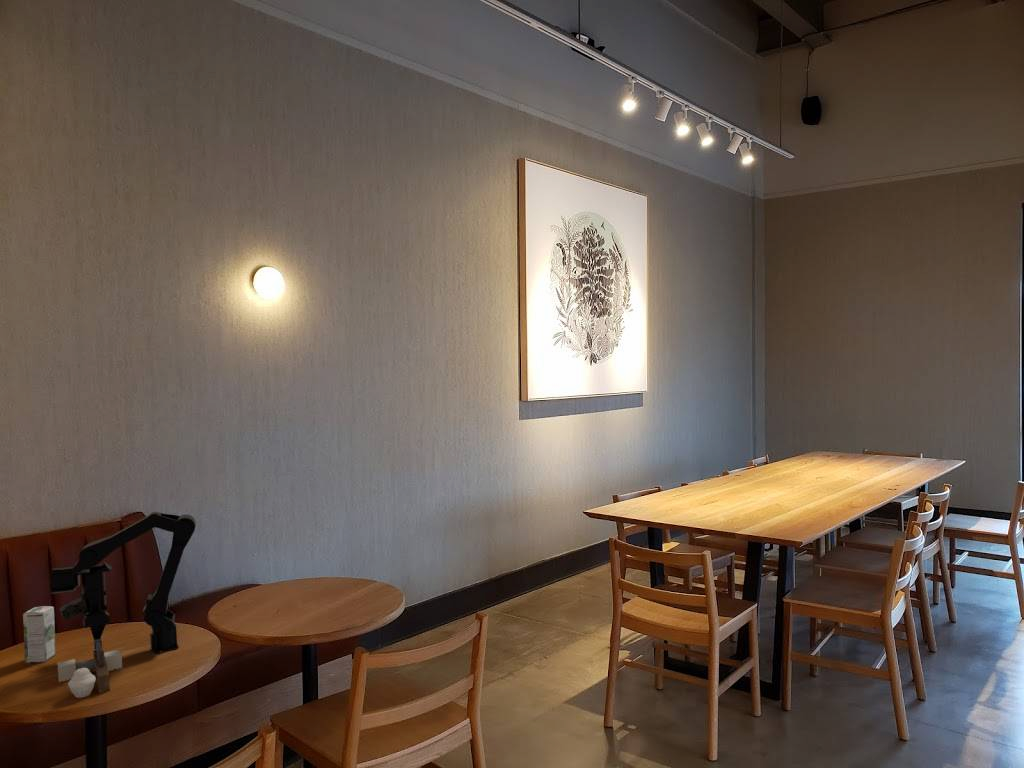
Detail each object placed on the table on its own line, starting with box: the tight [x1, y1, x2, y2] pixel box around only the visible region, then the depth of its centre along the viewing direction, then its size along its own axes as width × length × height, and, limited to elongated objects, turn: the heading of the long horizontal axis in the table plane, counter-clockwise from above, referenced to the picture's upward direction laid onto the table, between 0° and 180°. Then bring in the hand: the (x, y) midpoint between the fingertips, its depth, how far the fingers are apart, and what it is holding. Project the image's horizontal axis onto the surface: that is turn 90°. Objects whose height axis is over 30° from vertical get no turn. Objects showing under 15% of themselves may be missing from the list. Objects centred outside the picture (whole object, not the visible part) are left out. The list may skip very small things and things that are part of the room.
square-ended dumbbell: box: [57, 649, 123, 683], centre depth 205 cm, size 15×4×4 cm, turn 122°
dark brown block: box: [92, 648, 111, 694], centre depth 201 cm, size 2×22×4 cm, turn 32°
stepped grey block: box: [93, 638, 104, 666], centre depth 205 cm, size 2×16×2 cm, turn 32°
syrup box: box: [22, 605, 57, 664], centre depth 217 cm, size 6×6×14 cm
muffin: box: [67, 668, 97, 699], centre depth 190 cm, size 6×6×7 cm
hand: (96, 642), depth 215 cm, fingers closed
